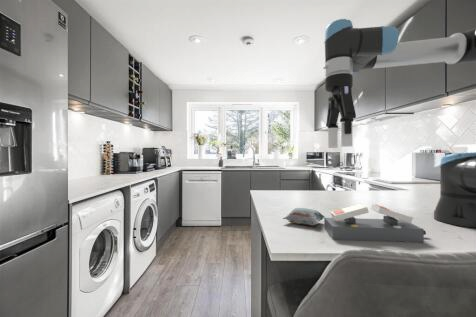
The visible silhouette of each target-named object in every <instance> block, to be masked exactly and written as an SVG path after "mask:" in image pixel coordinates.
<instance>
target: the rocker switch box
mask: <svg viewBox="0 0 476 317" xmlns="http://www.w3.org/2000/svg"><path fill="white" fill-rule="evenodd" d="M323 219H324V221H323V222H324V223H323V224H324V227H323V228H324V230H325V232H326V233H327V234H328V235H329V237H330V238H331V240H344V241H345V240H346V241H370V242H375V241H376V242H397V241H405V243H406V241H409V242H408V243H424V239H425V238H424V235H427V232H426V230H425V229H424V228H422V227H420V226H418V225H417V224H416V225H415V224H414V223H413V222H412V223H409V222H406V221H403V220H400V219H397V218H393V217H390V216H387V215H383V218H359V217H358V218H355V216H354V217H350V218H346V219H343V220H339V221H336V220H335V219H334V218H333V217H325V218H323Z"/></svg>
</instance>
